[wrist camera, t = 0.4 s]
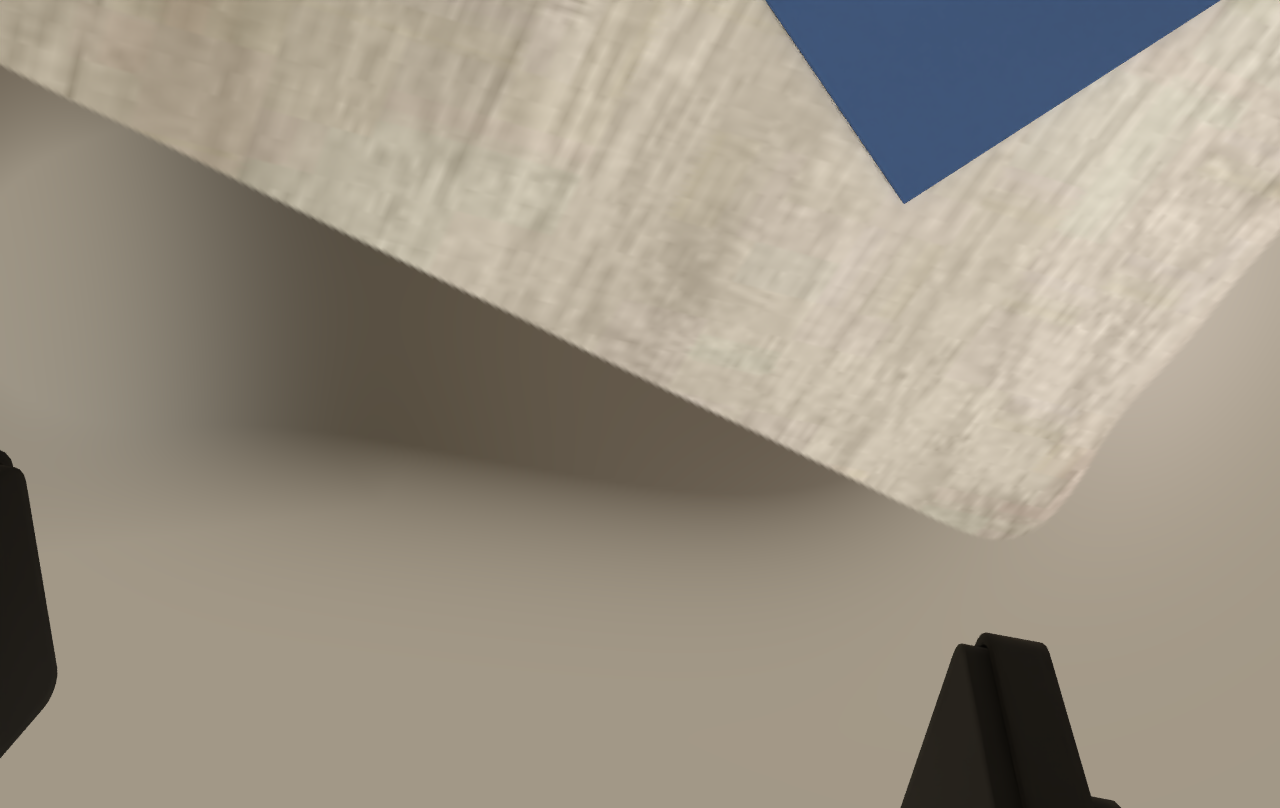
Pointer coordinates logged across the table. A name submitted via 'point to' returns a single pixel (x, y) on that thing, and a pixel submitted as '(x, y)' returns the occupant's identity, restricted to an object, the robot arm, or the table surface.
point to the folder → (963, 68)
